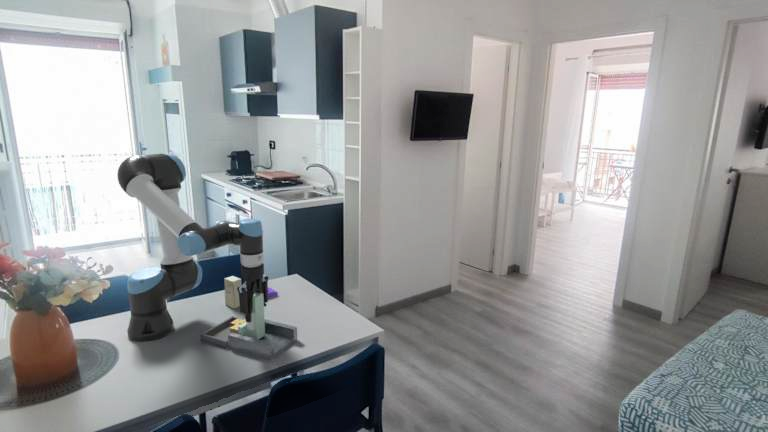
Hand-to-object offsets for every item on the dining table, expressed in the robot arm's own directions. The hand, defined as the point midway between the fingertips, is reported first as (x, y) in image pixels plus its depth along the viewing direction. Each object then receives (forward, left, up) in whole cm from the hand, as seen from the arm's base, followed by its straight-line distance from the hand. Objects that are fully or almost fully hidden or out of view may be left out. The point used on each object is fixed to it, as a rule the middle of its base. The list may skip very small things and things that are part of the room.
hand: (255, 326), depth 154 cm
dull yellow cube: (-10, +2, -5) cm, 12 cm away
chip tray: (-12, 0, -6) cm, 14 cm away
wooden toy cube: (-6, -2, -5) cm, 8 cm away
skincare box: (-29, +20, -6) cm, 36 cm away
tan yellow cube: (-6, +2, -5) cm, 8 cm away
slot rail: (+3, 0, -6) cm, 7 cm away
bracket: (-25, +33, -7) cm, 42 cm away
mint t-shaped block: (0, 0, -4) cm, 4 cm away
